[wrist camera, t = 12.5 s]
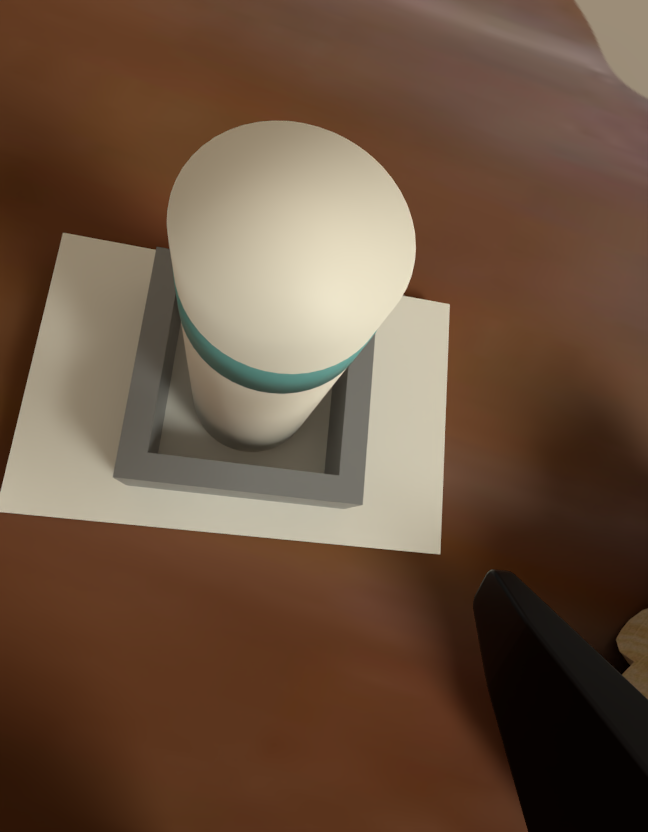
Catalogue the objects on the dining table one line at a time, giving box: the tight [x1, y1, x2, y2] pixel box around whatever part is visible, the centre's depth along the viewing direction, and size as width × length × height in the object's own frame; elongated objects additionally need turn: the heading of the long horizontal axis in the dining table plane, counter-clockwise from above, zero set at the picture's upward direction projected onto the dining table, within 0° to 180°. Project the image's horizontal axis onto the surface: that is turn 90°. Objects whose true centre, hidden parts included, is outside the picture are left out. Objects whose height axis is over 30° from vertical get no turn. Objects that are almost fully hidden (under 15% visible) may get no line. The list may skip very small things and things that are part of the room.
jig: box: [0, 233, 450, 554], centre depth 22 cm, size 12×18×4 cm, turn 84°
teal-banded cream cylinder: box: [167, 121, 416, 452], centre depth 17 cm, size 5×5×13 cm
